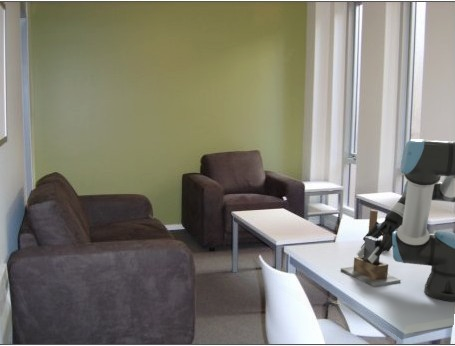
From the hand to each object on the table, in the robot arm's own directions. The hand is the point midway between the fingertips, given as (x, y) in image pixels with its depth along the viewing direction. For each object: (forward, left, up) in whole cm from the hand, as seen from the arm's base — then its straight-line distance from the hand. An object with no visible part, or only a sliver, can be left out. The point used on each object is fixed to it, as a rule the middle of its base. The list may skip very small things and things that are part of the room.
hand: (364, 258), depth 212 cm
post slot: (0, -4, -8) cm, 9 cm away
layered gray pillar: (0, -4, -4) cm, 5 cm away
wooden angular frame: (+32, -38, -8) cm, 50 cm away
